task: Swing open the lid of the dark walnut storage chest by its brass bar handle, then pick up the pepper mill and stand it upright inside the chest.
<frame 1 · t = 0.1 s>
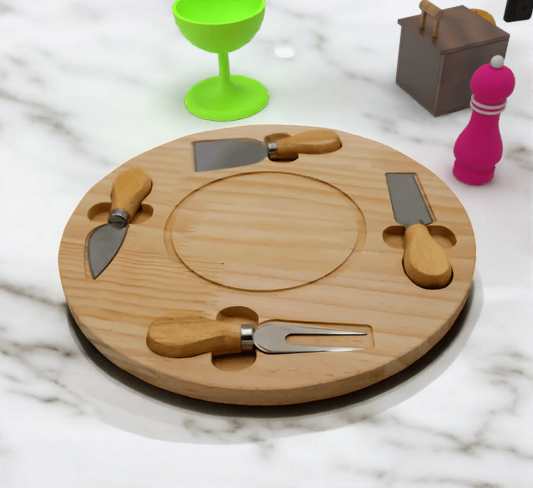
hand: (496, 3, 77), 30 cm above the worktop, tool pointing down, fingers open, 9 cm apart
apple: (468, 53, 133), on the worktop
lid: (454, 15, 112), point 15 cm above the worktop, hinge at 0.0°
chest: (443, 91, 122), on the worktop
pepper mill: (472, 174, 103), on the worktop
wineglass: (226, 99, 123), on the worktop
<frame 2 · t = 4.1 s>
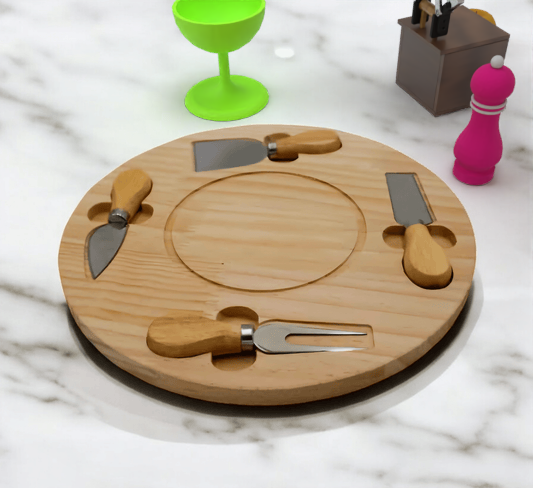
hand: (428, 28, 111), 13 cm above the worktop, tool pointing down, fingers closed on lid, 5 cm apart
lid: (454, 15, 112), point 15 cm above the worktop, hinge at 0.0°, touching gripper
everything else where it was.
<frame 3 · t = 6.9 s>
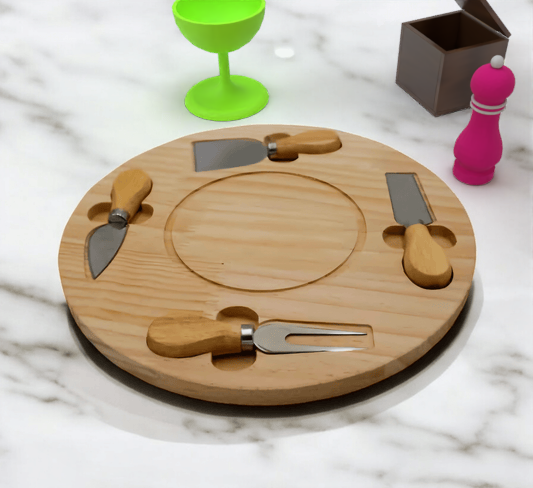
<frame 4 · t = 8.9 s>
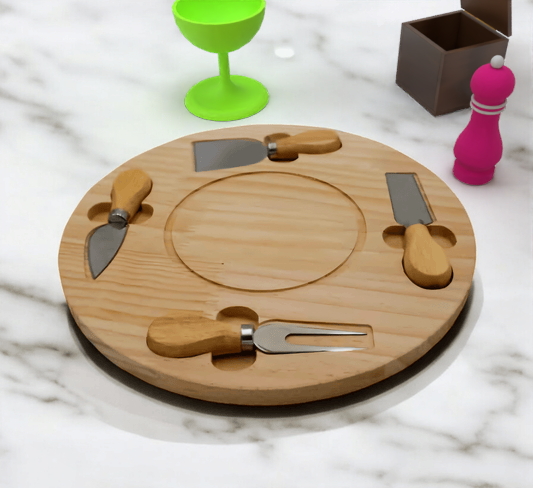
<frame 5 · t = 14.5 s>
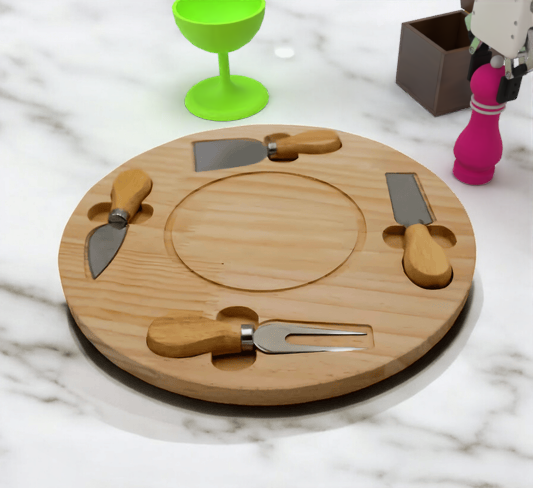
hand: (491, 88, 93), 15 cm above the worktop, tool pointing down, fingers closed on pepper mill, 6 cm apart
pepper mill: (472, 174, 103), on the worktop, touching gripper
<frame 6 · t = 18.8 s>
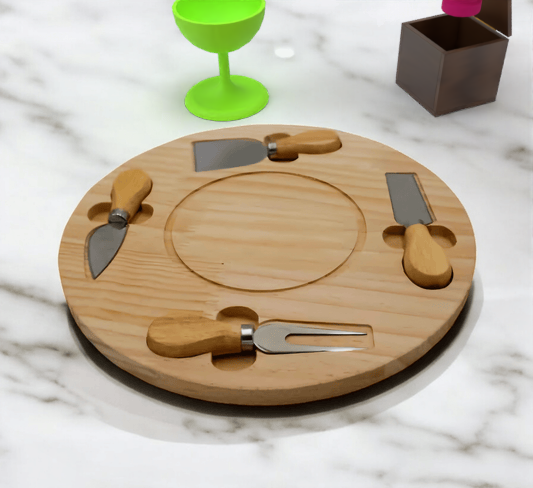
pepper mill: (460, 10, 107), point 17 cm above the worktop, touching gripper
when the fingers open (16 cm above the worktop, at t = 23.2 s): pepper mill stays where it is, resting on chest.
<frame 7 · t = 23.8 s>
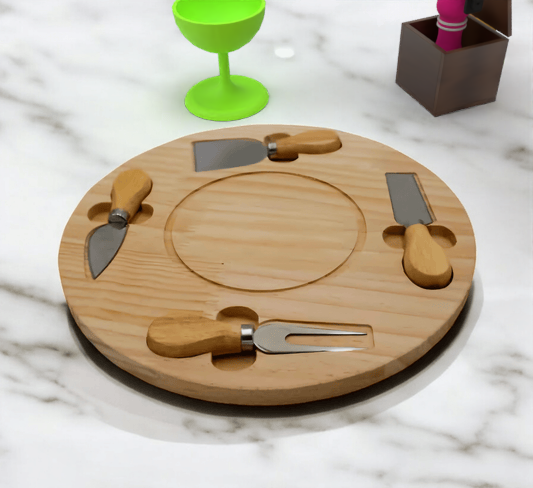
hand: (455, 1, 110), 17 cm above the worktop, tool pointing down, fingers open, 9 cm apart
pepper mill: (441, 89, 121), point 1 cm above the worktop, touching chest
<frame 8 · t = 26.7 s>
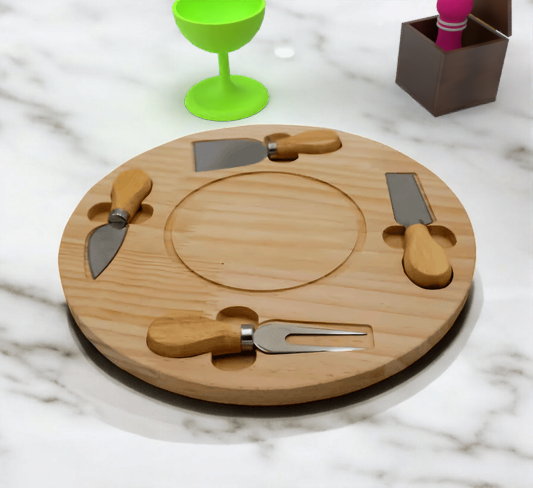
at the end: lid at +75° (first picture: +0°); pepper mill inside the target area in the chest (0.8 cm from its centre), point 0.7 cm above the chest's base; pepper mill tilted 0° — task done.
